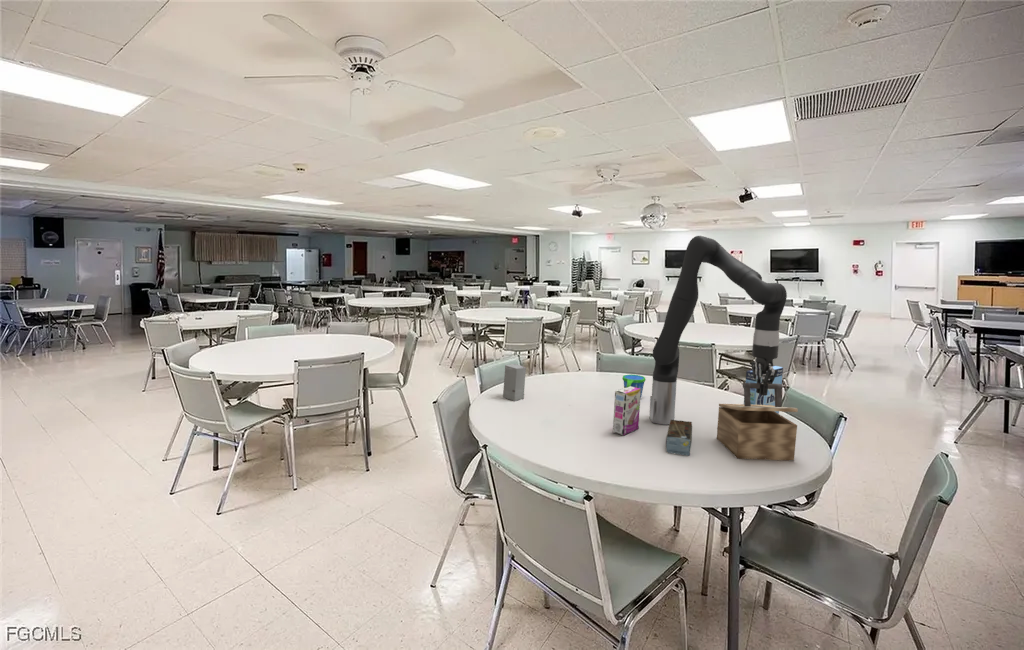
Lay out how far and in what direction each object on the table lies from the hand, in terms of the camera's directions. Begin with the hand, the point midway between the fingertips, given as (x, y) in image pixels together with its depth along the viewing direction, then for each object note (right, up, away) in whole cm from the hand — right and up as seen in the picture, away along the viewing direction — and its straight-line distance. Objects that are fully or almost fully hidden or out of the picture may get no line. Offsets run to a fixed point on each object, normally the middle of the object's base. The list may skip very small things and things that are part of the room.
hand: (761, 394), depth 155 cm
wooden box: (0, -20, +5) cm, 21 cm away
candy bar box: (-40, -18, +21) cm, 49 cm away
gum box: (+16, -17, +31) cm, 39 cm away
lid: (0, -6, +4) cm, 7 cm away
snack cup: (-26, -12, +67) cm, 73 cm away
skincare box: (-83, -12, +64) cm, 105 cm away
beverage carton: (-25, -20, +9) cm, 33 cm away
